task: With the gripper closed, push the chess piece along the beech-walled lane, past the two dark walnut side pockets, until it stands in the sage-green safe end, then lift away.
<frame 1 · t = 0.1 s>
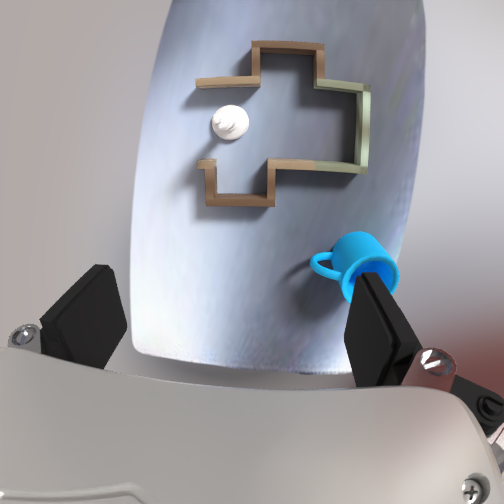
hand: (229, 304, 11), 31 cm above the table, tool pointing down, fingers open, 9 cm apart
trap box: (275, 122, 36), on the table
chess piece: (230, 122, 37), on the table
mug: (344, 254, 43), on the table
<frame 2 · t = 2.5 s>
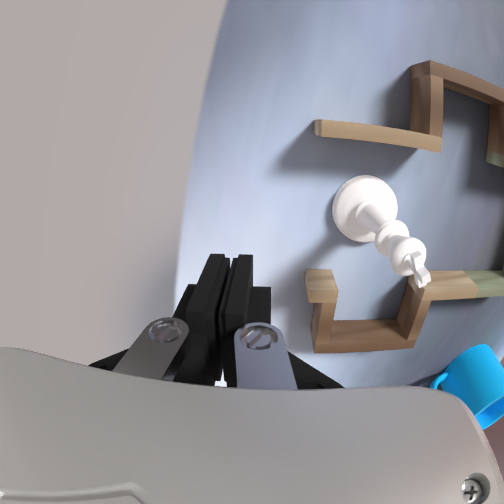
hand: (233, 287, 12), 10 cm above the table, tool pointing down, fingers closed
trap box: (432, 213, 19), on the table
chess piece: (363, 207, 20), on the table
mug: (455, 368, 27), on the table
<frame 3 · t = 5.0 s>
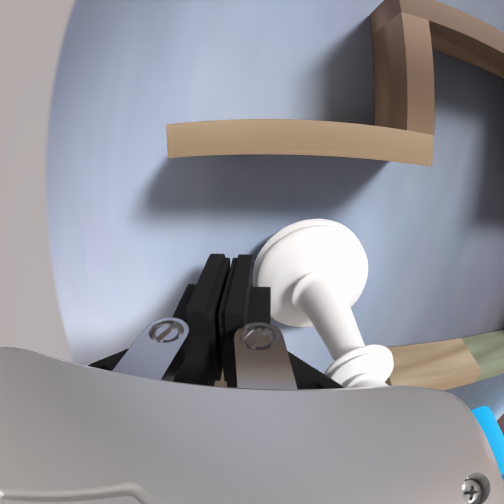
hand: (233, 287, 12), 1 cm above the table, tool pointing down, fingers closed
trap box: (418, 266, 12), on the table
chess piece: (309, 271, 12), on the table, touching gripper
mug: (444, 433, 20), on the table
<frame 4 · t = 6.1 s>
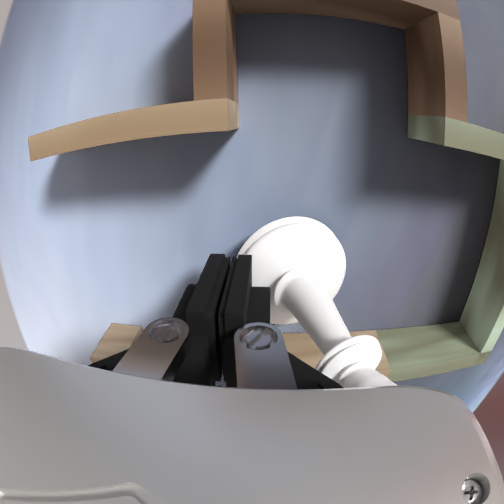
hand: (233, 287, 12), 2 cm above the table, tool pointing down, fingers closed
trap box: (289, 245, 13), on the table
chess piece: (288, 268, 13), on the table, touching gripper
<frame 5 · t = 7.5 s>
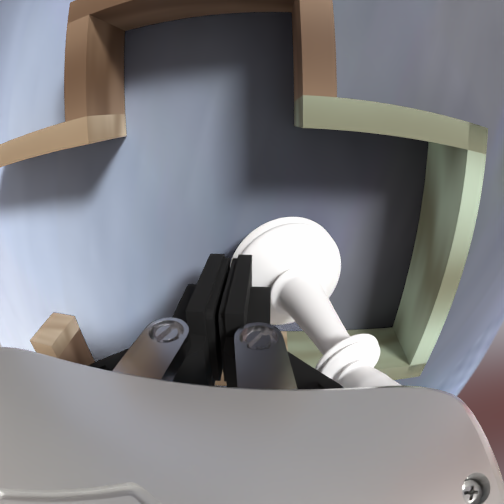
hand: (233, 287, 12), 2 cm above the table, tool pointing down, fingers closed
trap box: (179, 242, 13), on the table
chess piece: (283, 268, 13), on the table, touching gripper
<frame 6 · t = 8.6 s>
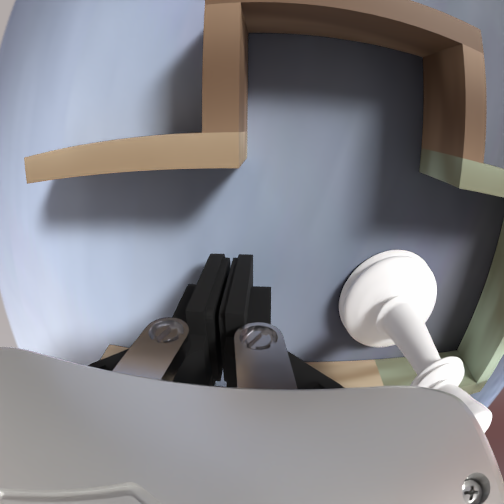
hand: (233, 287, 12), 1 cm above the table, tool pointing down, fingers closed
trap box: (293, 278, 12), on the table
chess piece: (386, 296, 13), on the table
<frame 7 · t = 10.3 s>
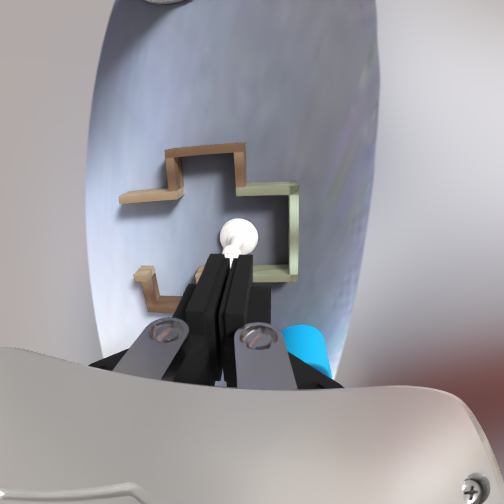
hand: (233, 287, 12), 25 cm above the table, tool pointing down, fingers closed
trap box: (203, 230, 38), on the table
chess piece: (239, 236, 38), on the table
mug: (287, 343, 45), on the table
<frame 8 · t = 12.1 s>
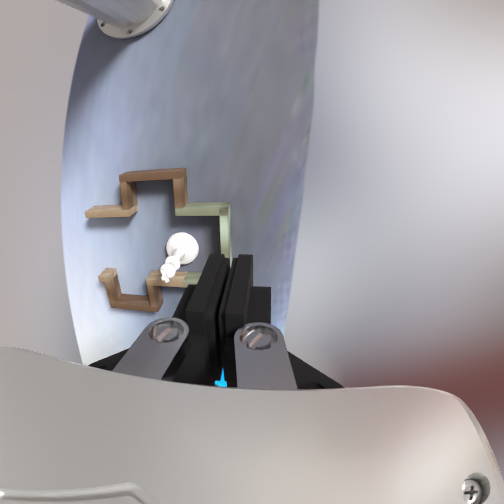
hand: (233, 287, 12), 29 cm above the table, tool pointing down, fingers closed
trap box: (153, 241, 43), on the table
chess piece: (182, 247, 43), on the table
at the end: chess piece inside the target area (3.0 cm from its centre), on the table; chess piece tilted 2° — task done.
